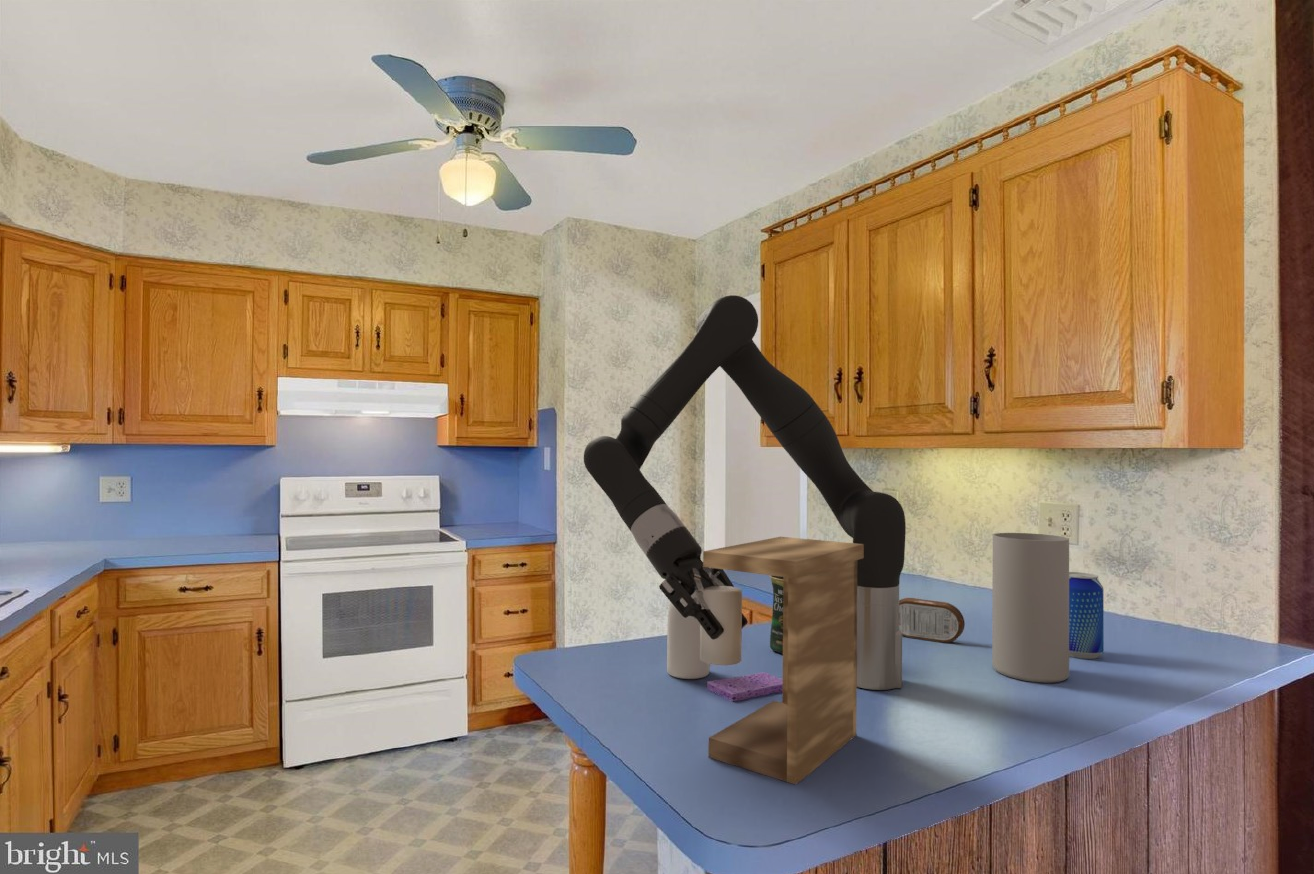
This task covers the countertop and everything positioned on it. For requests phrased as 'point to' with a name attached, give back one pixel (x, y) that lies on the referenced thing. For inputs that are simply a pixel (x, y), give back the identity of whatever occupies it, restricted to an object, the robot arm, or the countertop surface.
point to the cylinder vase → (1030, 606)
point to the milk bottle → (684, 646)
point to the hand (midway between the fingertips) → (731, 630)
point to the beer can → (1085, 616)
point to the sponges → (746, 686)
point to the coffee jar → (777, 615)
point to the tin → (930, 620)
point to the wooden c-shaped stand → (800, 657)
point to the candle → (729, 614)
